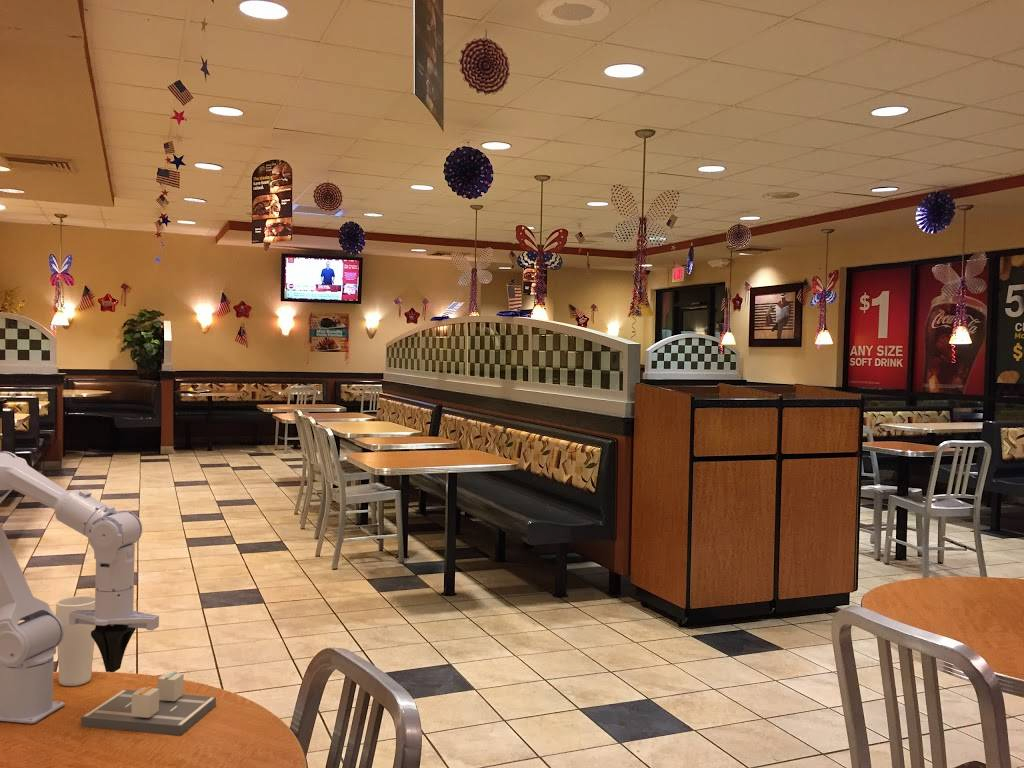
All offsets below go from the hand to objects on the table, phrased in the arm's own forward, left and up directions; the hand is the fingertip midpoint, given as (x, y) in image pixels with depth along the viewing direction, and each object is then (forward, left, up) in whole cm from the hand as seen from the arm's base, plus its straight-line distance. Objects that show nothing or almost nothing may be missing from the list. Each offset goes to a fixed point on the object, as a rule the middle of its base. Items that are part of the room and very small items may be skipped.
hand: (113, 670), depth 139 cm
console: (+5, +4, -9) cm, 10 cm away
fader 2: (+6, +7, -7) cm, 12 cm away
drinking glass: (-16, +15, -9) cm, 23 cm away
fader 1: (+6, 0, -7) cm, 9 cm away
